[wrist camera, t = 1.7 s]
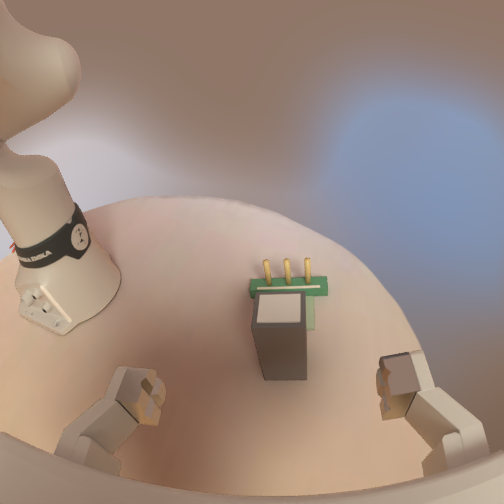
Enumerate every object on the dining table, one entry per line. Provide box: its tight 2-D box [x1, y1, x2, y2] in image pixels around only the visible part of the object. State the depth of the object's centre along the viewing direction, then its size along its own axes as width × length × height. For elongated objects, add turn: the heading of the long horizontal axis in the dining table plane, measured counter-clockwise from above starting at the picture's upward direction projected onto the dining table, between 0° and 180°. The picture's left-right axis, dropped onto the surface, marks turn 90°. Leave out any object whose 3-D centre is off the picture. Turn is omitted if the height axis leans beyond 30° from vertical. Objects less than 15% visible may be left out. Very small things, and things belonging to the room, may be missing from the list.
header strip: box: [250, 258, 328, 298], centre depth 40 cm, size 10×2×6 cm, turn 84°
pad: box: [306, 296, 315, 330], centre depth 38 cm, size 6×5×1 cm
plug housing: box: [251, 291, 307, 380], centre depth 30 cm, size 4×4×10 cm
